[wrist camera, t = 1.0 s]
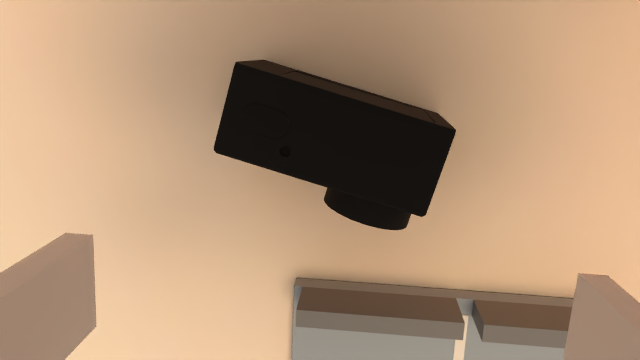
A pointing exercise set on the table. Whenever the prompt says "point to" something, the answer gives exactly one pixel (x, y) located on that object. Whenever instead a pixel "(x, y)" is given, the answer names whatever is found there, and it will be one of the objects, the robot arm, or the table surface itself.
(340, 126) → the digital camera
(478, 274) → the table surface
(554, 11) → the table surface
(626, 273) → the table surface
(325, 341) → the docking board
